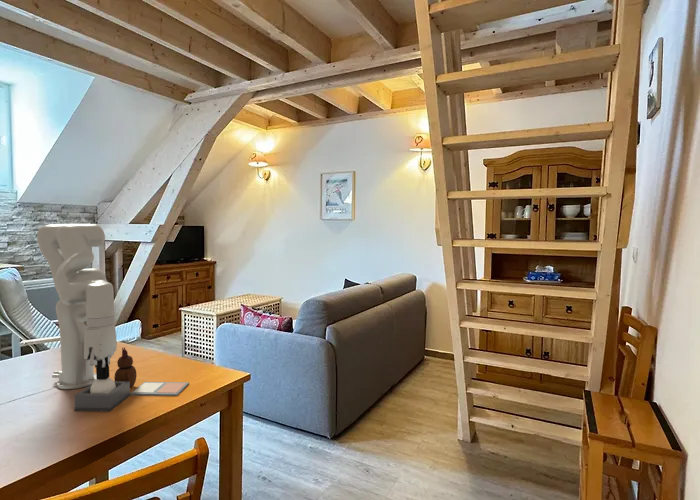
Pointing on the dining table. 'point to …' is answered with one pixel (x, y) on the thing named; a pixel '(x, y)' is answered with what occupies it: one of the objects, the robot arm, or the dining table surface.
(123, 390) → the dome housing
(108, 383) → the dome
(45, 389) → the dining table surface
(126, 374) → the wooden figurine
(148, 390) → the grey flat tray
